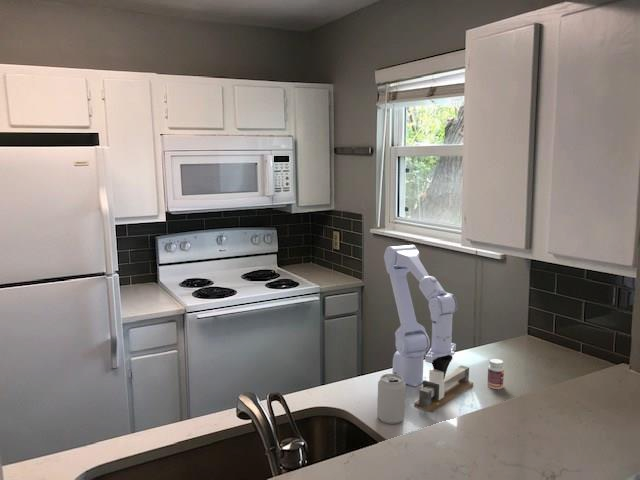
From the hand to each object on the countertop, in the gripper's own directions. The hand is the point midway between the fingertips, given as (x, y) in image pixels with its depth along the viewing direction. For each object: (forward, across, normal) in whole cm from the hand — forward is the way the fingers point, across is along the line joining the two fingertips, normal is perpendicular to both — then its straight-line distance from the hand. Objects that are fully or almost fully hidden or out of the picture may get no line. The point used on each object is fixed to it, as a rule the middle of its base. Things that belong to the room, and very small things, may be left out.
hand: (439, 379), depth 158 cm
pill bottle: (+6, +20, -8) cm, 23 cm away
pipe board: (+6, +3, 0) cm, 7 cm away
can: (+6, -20, +4) cm, 21 cm away
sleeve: (+4, -3, 0) cm, 5 cm away
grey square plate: (+4, -5, 0) cm, 7 cm away
